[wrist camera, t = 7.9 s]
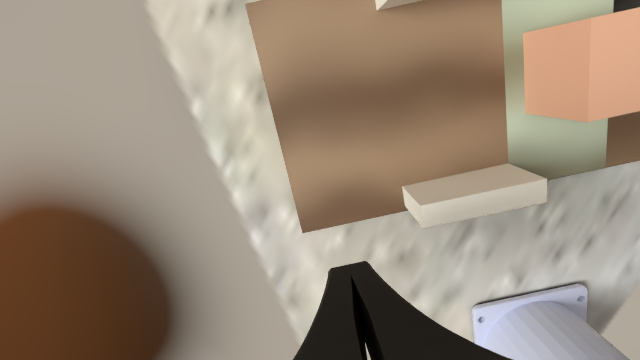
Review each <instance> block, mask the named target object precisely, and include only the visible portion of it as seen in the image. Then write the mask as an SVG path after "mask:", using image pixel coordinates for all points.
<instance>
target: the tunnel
mask: <svg viewBox="0 0 640 360" xmlns="http://www.w3.org/2000/svg"><path fill="white" fill-rule="evenodd" d="M418 1H422V0H375V2H376V9H377V11H378V10H382V9H387V8H391V7H395V6H400V5H404V4H409V3H413V2H418ZM402 189H403V196H404V203H405V207H406V208H407V209H408V210H409V212H410V213H411V214H412V215H413V216H414V218H415V219H416V220H417V221H418V223H419V224H420V225H421V226H422V227H423V229H425V228H430V227H435V226H439V225H444V224H448V223H453V222H458V221H462V220H467V219H472V218H476V217H481V216H486V215H490V214H495V213H500V212H504V211H509V210H514V209H518V208H523V207H528V206H532V205H537V204H541V203H546V202H547V179H546V178H544V177H541V176H539V175H536V174H534V173H531V172H529V171H526V170H524V169H521V168H519V167H516V166H514V165H511V164H509V163H508V164H503V165H498V166H494V167H489V168H485V169H480V170H475V171H471V172H466V173H462V174H457V175H452V176H448V177H443V178H438V179H434V180H429V181H425V182H420V183H415V184H411V185H406V186H402Z"/></svg>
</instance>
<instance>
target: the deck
mask: <svg viewBox="0 0 640 360" xmlns="http://www.w3.org/2000/svg"><path fill="white" fill-rule="evenodd" d="M245 5H246V9H247V13H248V17H249V21H250V25H251V29H252V33H253V37H254V41H255V45H256V49H257V53H258V57H259V61H260V65H261V69H262V73H263V77H264V81H265V85H266V89H267V93H268V97H269V101H270V105H271V109H272V113H273V117H274V121H275V125H276V129H277V133H278V137H279V141H280V145H281V149H282V153H283V157H284V161H285V165H286V169H287V173H288V177H289V181H290V185H291V189H292V193H293V197H294V201H295V205H296V209H297V213H298V217H299V221H300V225H301V229H302V232H303V233H305V232H310V231H315V230H319V229H324V228H329V227H333V226H338V225H343V224H347V223H352V222H356V221H361V220H366V219H370V218H375V217H380V216H384V215H389V214H393V213H398V212H403V211H407V210H408V209H407V208H406V207H405V203H404V196H403V189H402V186H406V185H411V184H415V183H420V182H425V181H429V180H434V179H438V178H443V177H448V176H452V175H457V174H462V173H466V172H471V171H475V170H480V169H485V168H489V167H494V166H498V165H503V164H508V163H509V164H511V165H514V166H516V167H519V168H521V169H524V170H526V171H529V172H531V173H534V174H536V175H539V176H541V177H544V178H546V179H547V180H551V179H556V178H560V177H565V176H569V175H574V174H579V173H583V172H588V171H593V170H597V169H602V168H607V167H611V166H616V165H620V164H625V163H630V162H634V161H639V160H640V111H638V112H633V113H628V114H624V115H619V116H615V117H610V118H605V119H601V120H596V121H592V122H582V121H575V120H568V119H561V118H554V117H547V116H540V115H533V114H526V113H525V89H524V49H523V33H525V32H530V31H534V30H539V29H543V28H548V27H552V26H557V25H561V24H566V23H570V22H575V21H579V20H584V19H588V18H593V17H597V16H602V15H606V14H611V13H615V12H620V11H625V10H629V9H634V8H638V7H640V0H422V1H418V2H413V3H409V4H404V5H400V6H395V7H391V8H387V9H382V10H378V11H377V9H376V2H375V0H261V1H256V2H252V3H247V4H245Z"/></svg>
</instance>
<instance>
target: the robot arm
mask: <svg viewBox="0 0 640 360" xmlns="http://www.w3.org/2000/svg"><path fill="white" fill-rule="evenodd" d="M587 298H588V290H587V288H586V287H585V286H584V285H582V284H574V285H569V286H564V287H559V288H555V289H550V290H545V291H541V292H536V293H531V294H526V295H522V296H517V297H512V298H507V299H503V300H498V301H493V302H489V303H484V304H479V305H476V306H475V307H473V309H472V320H473V331H474V343H473V342H471V341H469V340H467V339H465V338H463V337H461V336H459V335H457V334H455V333H453V332H452V331H450V330H448V329H446V328H444V327H443V326H441V325H439V324H438V323H436V322H435V321H433V320H432V319H430V318H429V317H427V316H426V315H424V314H423V313H422V312H420V311H419V310H417V309H416V308H415V307H414V306H412V305H411V304H410V303H408V302H407V301H406V300H405V299H404V298H402V297H401V296H400V295H399V294H398V293H397V292H396V291H394V290H393V289H392V288H391V287H390V286H389V285H388V284H387V283H386V282H385V281H384V280H383V279H382V278H381V277H380V276H379V275H378V274H377V273H376V272H375V270H374V269H373V268H372V267H371V265H370V264H369V263H368V262H366V261H363V262H359V263H354V264H349V265H344V266H340V267H335V268H331V269H330V270H329V272H328V279H327V284H326V288H325V291H324V294H323V297H322V300H321V303H320V306H319V309H318V311H317V314H316V316H315V318H314V321H313V323H312V325H311V328H310V330H309V332H308V334H307V336H306V338H305V340H304V342H303V343H302V345H301V347H300V349H299V351H298V352H297V354H296V356H295V357H294V359H293V360H367V354H366V346H367V349H368V352H369V355H370V358H371V360H629V359H628V358H627V357H626V356H624V355H623V354H622V353H621V352H620V351H619V350H618V349H616V348H615V347H614V346H613V345H612V344H610V343H609V342H608V341H607V340H606V339H604V338H603V337H602V336H601V335H600V334H599V333H598V332H596V331H595V330H594V329H593V328H592V327H591V326H589V325H588V324H587ZM480 317H482V318H480ZM479 318H480V319H479ZM365 343H366V346H365Z"/></svg>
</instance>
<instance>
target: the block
mask: <svg viewBox="0 0 640 360" xmlns="http://www.w3.org/2000/svg"><path fill="white" fill-rule="evenodd" d="M523 49H524V89H525V113H526V114H533V115H540V116H547V117H554V118H561V119H568V120H575V121H582V122H592V121H596V120H601V119H605V118H610V117H615V116H619V115H624V114H628V113H633V112H638V111H640V7H638V8H634V9H629V10H625V11H620V12H615V13H611V14H606V15H602V16H597V17H593V18H588V19H584V20H579V21H575V22H570V23H566V24H561V25H557V26H552V27H548V28H543V29H539V30H534V31H530V32H525V33H523Z"/></svg>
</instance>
